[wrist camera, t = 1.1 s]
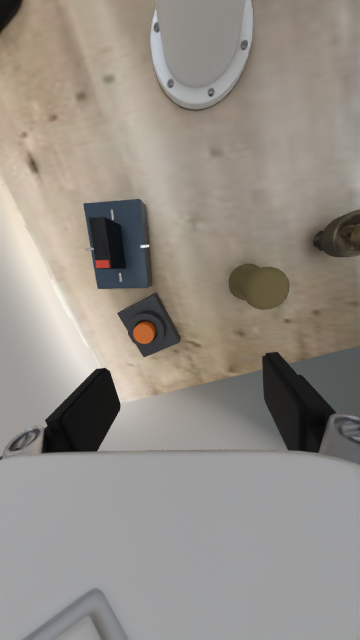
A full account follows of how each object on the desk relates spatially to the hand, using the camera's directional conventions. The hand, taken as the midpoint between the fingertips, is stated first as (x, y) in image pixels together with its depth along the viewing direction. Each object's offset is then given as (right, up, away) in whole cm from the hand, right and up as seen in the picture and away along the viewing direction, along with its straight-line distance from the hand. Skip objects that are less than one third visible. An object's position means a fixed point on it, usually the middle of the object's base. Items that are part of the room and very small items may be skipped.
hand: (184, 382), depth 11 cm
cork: (+11, +10, +20) cm, 25 cm away
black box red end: (-10, +15, +18) cm, 26 cm away
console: (-10, +16, +21) cm, 28 cm away
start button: (-6, +2, +21) cm, 22 cm away
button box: (-6, +3, +24) cm, 25 cm away
